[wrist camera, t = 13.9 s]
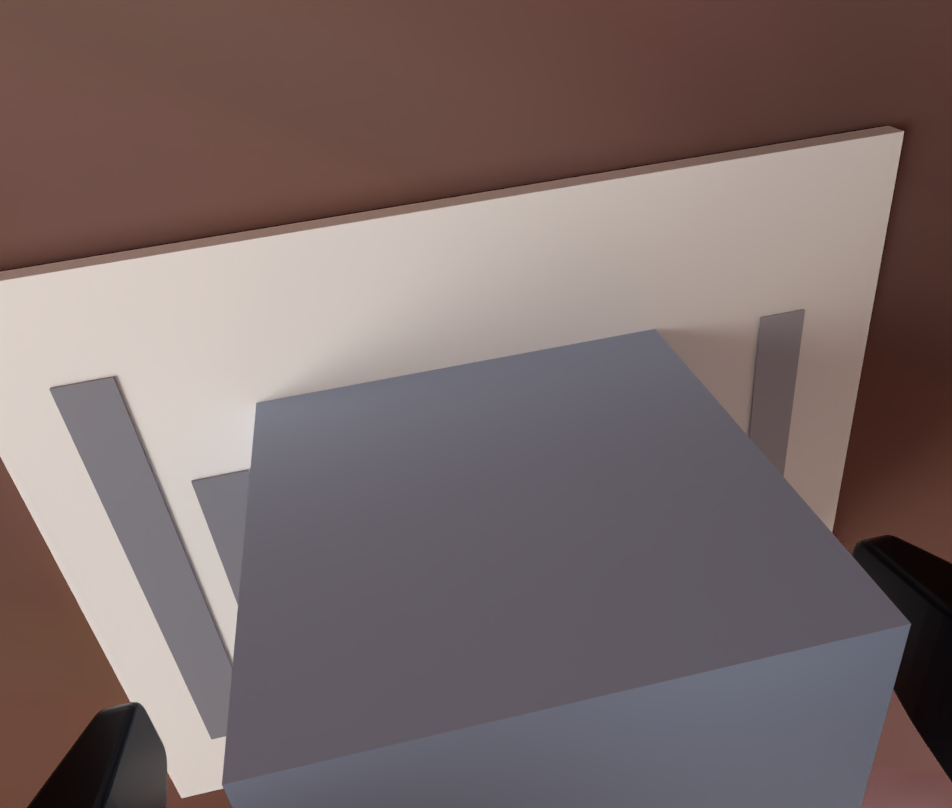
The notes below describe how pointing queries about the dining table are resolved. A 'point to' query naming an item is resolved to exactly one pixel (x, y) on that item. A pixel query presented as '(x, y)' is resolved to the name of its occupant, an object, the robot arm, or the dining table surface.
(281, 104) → the dining table surface
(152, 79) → the dining table surface
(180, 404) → the letter
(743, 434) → the slate blue cube
